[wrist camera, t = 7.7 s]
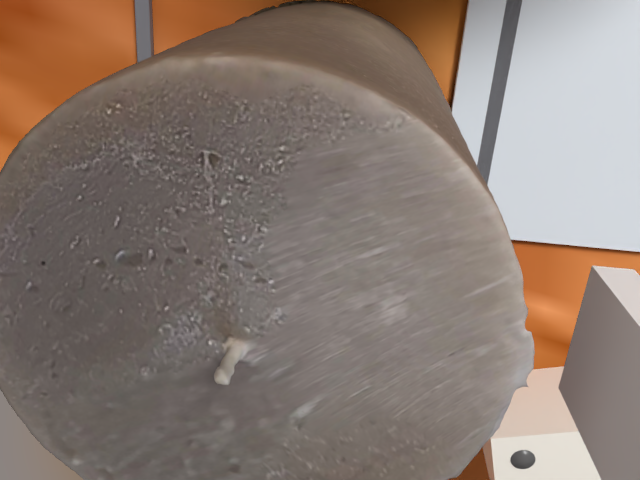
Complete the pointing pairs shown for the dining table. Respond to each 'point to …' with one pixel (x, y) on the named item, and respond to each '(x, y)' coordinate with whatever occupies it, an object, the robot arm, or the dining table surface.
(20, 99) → the dining table surface
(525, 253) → the dining table surface
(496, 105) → the ring
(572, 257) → the dining table surface
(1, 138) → the dining table surface
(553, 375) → the die
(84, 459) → the pillar candle
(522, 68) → the pad one
